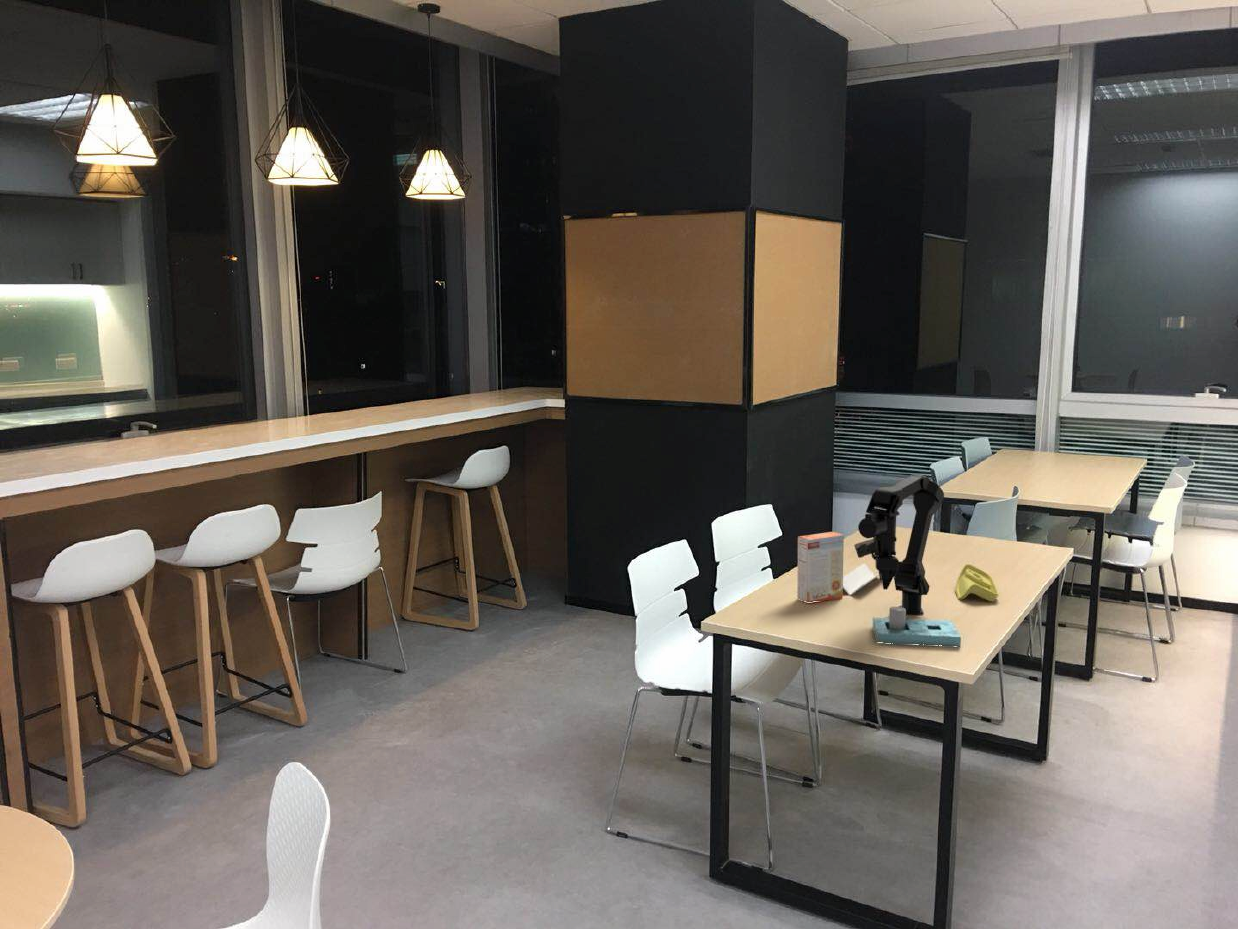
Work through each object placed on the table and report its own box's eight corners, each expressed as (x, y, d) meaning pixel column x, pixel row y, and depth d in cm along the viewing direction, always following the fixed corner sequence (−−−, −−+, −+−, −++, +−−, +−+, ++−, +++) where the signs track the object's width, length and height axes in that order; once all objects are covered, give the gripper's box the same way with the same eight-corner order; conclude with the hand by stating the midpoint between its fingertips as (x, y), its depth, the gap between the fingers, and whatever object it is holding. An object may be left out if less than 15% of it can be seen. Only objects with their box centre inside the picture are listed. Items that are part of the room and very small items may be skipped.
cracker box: (831, 593, 315) (833, 530, 311) (843, 598, 309) (845, 534, 306) (795, 599, 309) (797, 535, 306) (807, 604, 303) (808, 539, 300)
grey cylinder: (887, 633, 276) (888, 606, 275) (903, 634, 276) (904, 607, 274) (889, 638, 272) (890, 611, 271) (905, 639, 271) (906, 611, 270)
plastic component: (1000, 596, 303) (970, 581, 304) (987, 615, 305) (958, 600, 306) (991, 574, 322) (963, 561, 323) (980, 593, 324) (952, 579, 325)
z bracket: (837, 606, 316) (824, 591, 317) (863, 587, 336) (851, 573, 338) (863, 585, 310) (850, 569, 311) (888, 567, 330) (876, 553, 332)
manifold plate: (872, 627, 282) (872, 617, 281) (951, 630, 278) (952, 620, 278) (877, 643, 268) (877, 633, 267) (960, 647, 264) (960, 637, 264)
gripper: (854, 524, 290) (852, 575, 292) (859, 539, 272) (857, 593, 274) (892, 525, 288) (890, 576, 291) (900, 540, 270) (898, 594, 272)
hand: (883, 584), depth 282 cm, fingers open, 9 cm apart
